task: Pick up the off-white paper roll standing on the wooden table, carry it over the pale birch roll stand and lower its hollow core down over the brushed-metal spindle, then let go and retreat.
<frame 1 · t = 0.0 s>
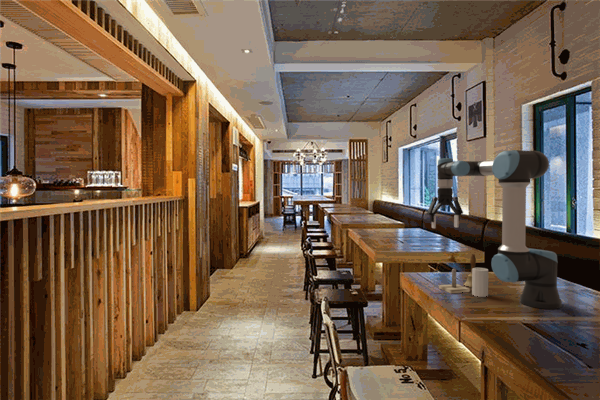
hand: (445, 227, 217), 28 cm above the table, fingers open, 13 cm apart
roll: (480, 295, 188), on the table
stand: (454, 290, 198), on the table
hand bell: (472, 286, 206), on the table
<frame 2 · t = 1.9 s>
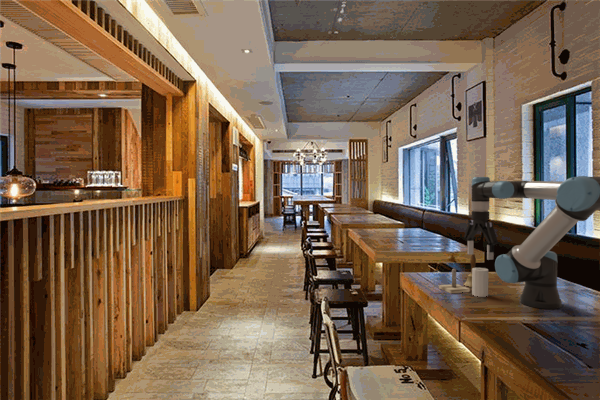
hand: (480, 256, 188), 18 cm above the table, fingers open, 13 cm apart
nothing on the table moved.
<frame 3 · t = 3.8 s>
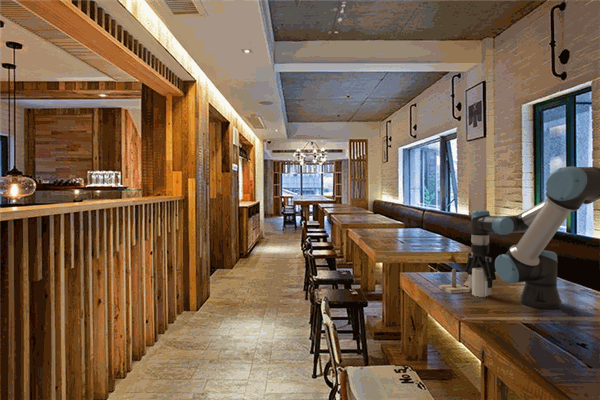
hand: (479, 291, 189), 2 cm above the table, fingers open, 11 cm apart
nothing on the table moved.
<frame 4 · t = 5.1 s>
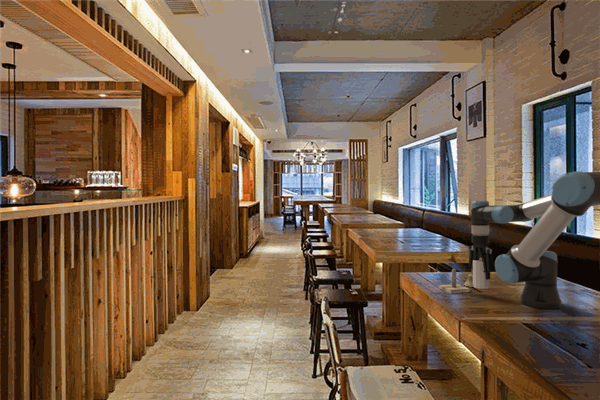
hand: (481, 284, 188), 5 cm above the table, fingers closed on roll, 7 cm apart
roll: (481, 287, 188), point 4 cm above the table, touching gripper
everything else where it was.
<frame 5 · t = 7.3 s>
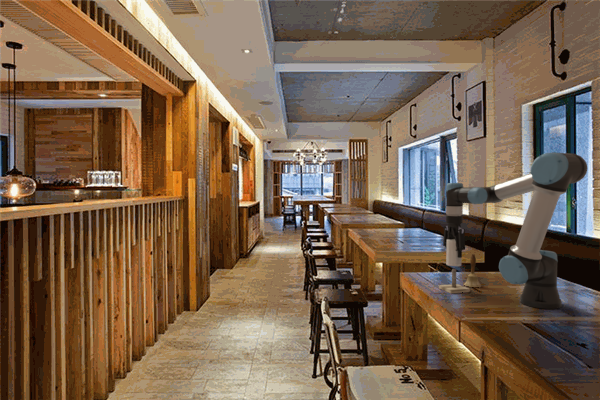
hand: (453, 262, 197), 13 cm above the table, fingers closed on roll, 7 cm apart
roll: (453, 264, 198), point 12 cm above the table, touching gripper
everything else where it was.
when the fingers open (4 cm above the table, at t = 9.9 s): roll drops 2 cm, resting on stand.
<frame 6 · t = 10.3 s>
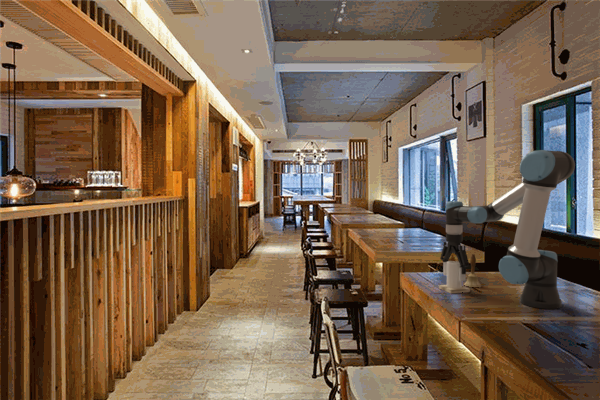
hand: (454, 277, 197), 6 cm above the table, fingers open, 12 cm apart
roll: (454, 287, 198), point 1 cm above the table, touching stand
everything else where it was.
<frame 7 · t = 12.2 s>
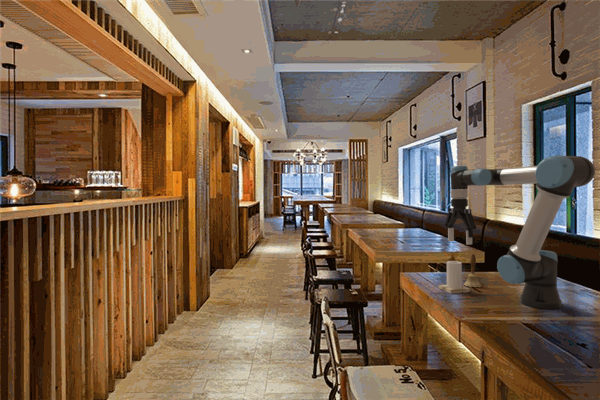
hand: (459, 242, 196), 23 cm above the table, fingers open, 13 cm apart
nothing on the table moved.
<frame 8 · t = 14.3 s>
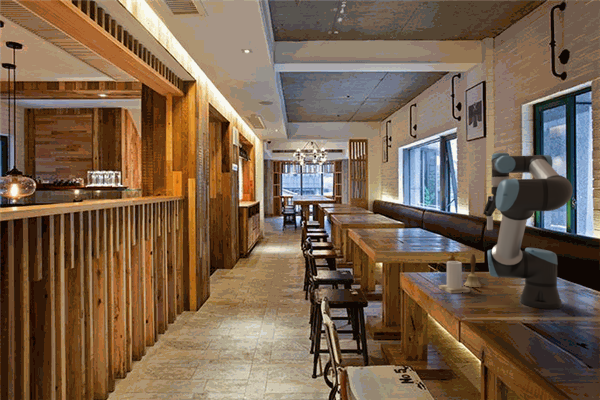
hand: (499, 231, 193), 29 cm above the table, fingers open, 13 cm apart
nothing on the table moved.
at the end: roll 0.0 cm off-centre on the stand, point 1.5 cm above the stand's base; roll tilted 0°; the gripper is holding nothing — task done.
